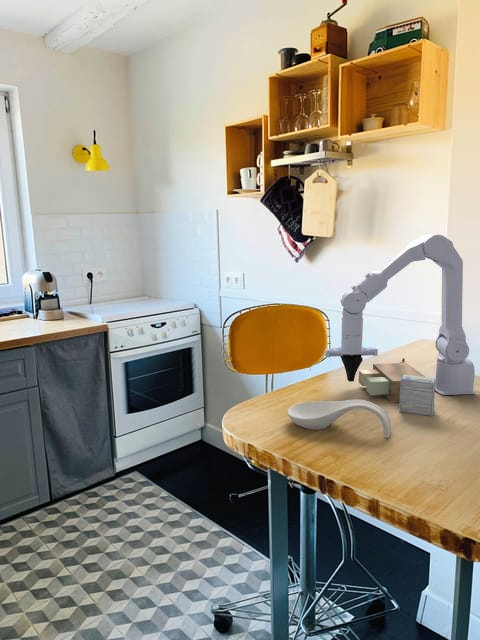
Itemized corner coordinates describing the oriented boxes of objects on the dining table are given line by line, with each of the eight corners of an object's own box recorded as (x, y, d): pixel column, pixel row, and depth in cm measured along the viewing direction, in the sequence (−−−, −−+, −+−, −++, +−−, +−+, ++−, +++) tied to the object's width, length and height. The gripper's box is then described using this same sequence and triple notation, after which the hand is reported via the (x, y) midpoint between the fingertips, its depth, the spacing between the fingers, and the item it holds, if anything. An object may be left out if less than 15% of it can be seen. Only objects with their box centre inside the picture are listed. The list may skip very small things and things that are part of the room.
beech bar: (389, 381, 143) (389, 369, 142) (393, 385, 140) (394, 372, 139) (358, 382, 143) (358, 370, 142) (362, 386, 139) (362, 373, 138)
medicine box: (433, 410, 124) (436, 377, 123) (432, 416, 120) (434, 382, 119) (401, 406, 127) (402, 373, 126) (398, 412, 123) (400, 378, 122)
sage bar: (398, 389, 136) (398, 376, 136) (403, 393, 133) (403, 380, 132) (365, 390, 136) (366, 377, 135) (370, 394, 132) (370, 381, 132)
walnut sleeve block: (405, 381, 146) (406, 363, 145) (428, 400, 131) (430, 379, 130) (372, 382, 146) (373, 363, 145) (391, 402, 130) (392, 381, 129)
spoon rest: (281, 431, 114) (281, 401, 112) (294, 412, 124) (294, 385, 123) (388, 446, 105) (389, 414, 104) (392, 425, 116) (393, 396, 115)
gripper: (372, 330, 142) (371, 375, 145) (323, 331, 141) (322, 376, 144) (381, 335, 135) (379, 383, 138) (328, 337, 134) (327, 384, 137)
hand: (350, 380), depth 140 cm, fingers closed
